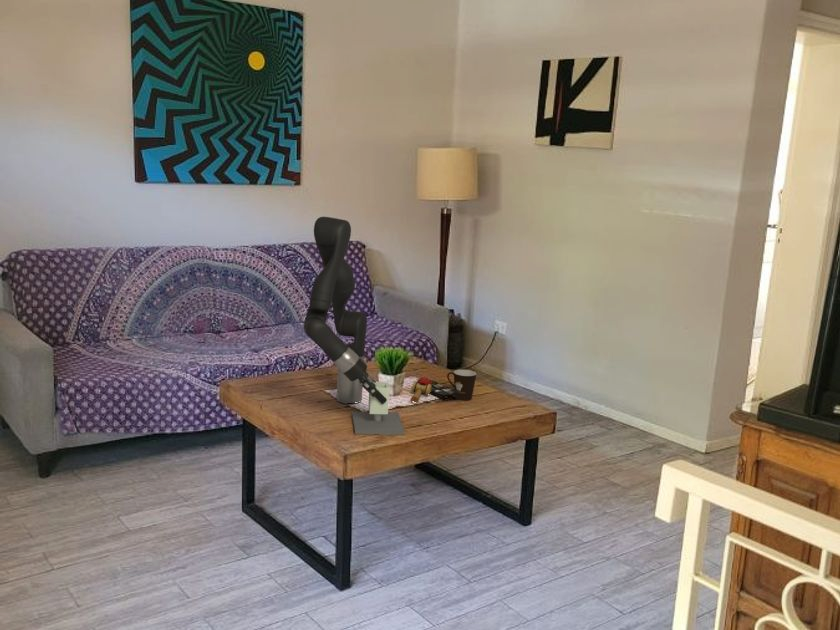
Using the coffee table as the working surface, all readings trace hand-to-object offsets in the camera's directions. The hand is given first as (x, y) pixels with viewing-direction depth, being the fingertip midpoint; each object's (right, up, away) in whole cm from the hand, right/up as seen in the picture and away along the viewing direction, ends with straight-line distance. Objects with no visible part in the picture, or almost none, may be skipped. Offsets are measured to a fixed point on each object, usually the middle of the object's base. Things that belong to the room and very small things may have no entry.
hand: (383, 398), depth 267 cm
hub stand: (-2, -9, +2) cm, 9 cm away
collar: (-2, -4, +1) cm, 5 cm away
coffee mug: (+28, -3, +38) cm, 47 cm away
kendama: (+12, -3, +36) cm, 38 cm away
